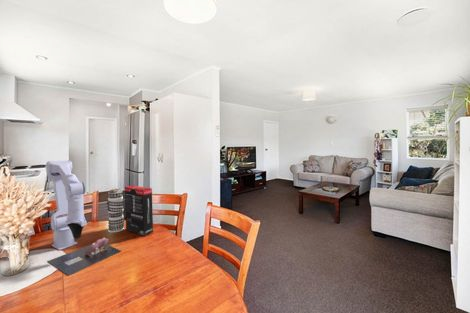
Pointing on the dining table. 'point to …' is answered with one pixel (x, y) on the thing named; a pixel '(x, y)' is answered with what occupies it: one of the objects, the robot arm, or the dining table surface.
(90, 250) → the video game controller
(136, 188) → the graphics card box
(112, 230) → the decorative candle
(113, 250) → the panel
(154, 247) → the dining table surface
